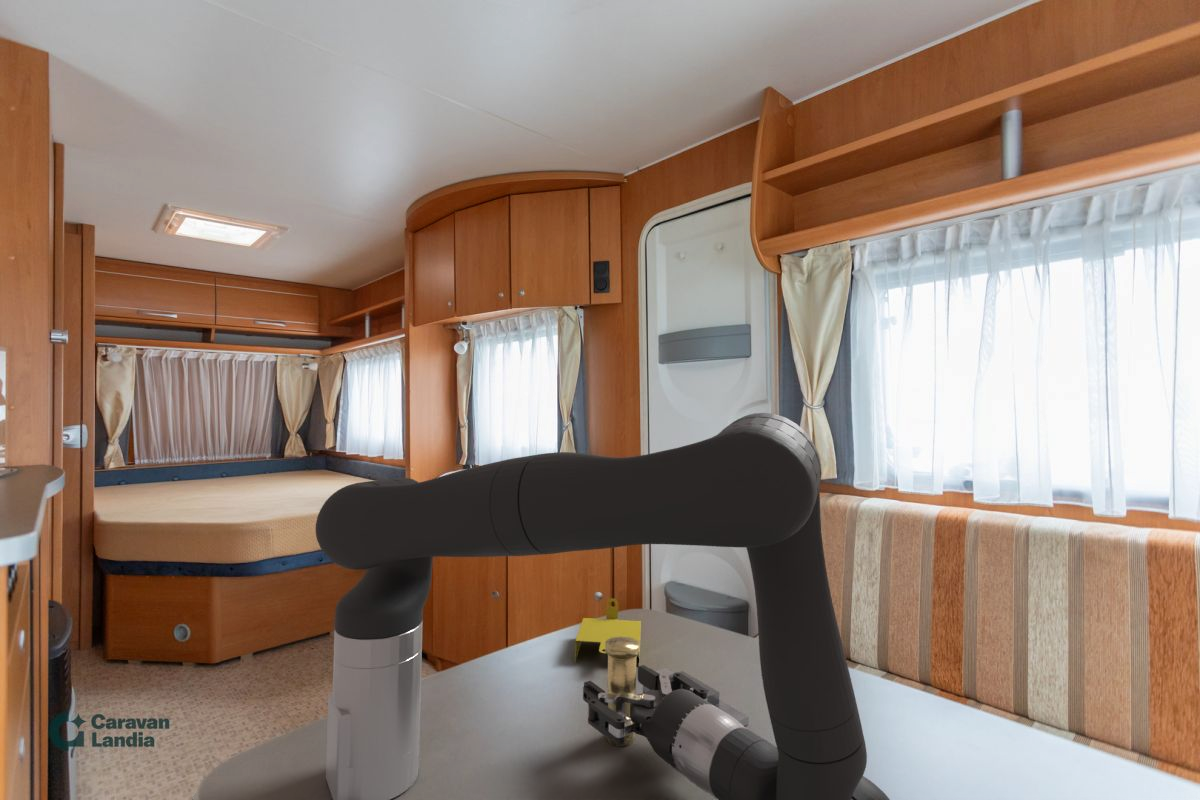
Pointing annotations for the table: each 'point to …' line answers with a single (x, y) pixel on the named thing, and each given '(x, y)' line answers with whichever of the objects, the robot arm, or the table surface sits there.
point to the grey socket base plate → (711, 696)
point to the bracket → (607, 629)
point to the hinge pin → (622, 673)
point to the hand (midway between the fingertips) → (613, 680)
